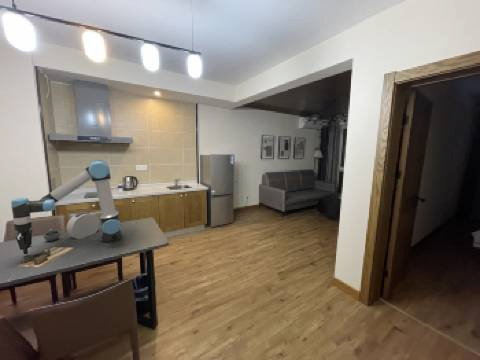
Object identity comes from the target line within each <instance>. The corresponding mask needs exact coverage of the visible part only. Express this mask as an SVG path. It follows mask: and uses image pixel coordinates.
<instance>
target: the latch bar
mask: <svg viewBox="0 0 480 360" xmlns="http://www.w3.org/2000/svg"><path fill="white" fill-rule="evenodd" d="M50 249H51V248H46V249H44V250H41V251H37V252H33V253H30V255H26V256H24V255H23V256H22V257H21V258H22V264H23V263H27V262H30V261H33V260H34V259H36V258H37V257H39V256H41V255H47V256H50V255H51V253H50Z"/></svg>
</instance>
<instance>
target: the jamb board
mask: <svg viewBox="0 0 480 360" xmlns="http://www.w3.org/2000/svg"><path fill="white" fill-rule="evenodd" d="M49 249H50V253H51V255H50V256H47V255H41V256H39V257H37V258H36V259H34V260H33V261H30V262H27V263H23V262H22V263H20V264H18V267H21V268H23V267H24V268H25V267H27V268H28V267H29V268H44V267H46V266H47V265H50V264H51V263H53V262H54V261H56V260H57V259H59V258H61V257H63V256H65V255H66V254H68V253H69V252H71V251H73V250H75V249H76V247H60V246H59V247H58V246H57V247H52V248H49Z"/></svg>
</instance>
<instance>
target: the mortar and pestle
mask: <svg viewBox="0 0 480 360" xmlns="http://www.w3.org/2000/svg"><path fill="white" fill-rule="evenodd" d="M47 231H48V232H45V233H43V239H44V240H45V241H47V242H50V243H51V242H55V241H57V240H58V239H59V238H60V237H61V230H54V229H53V228H49V229H48V230H47Z"/></svg>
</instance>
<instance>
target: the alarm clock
mask: <svg viewBox="0 0 480 360" xmlns="http://www.w3.org/2000/svg"><path fill="white" fill-rule="evenodd" d="M99 227H100V221H99V218H98V217H97V216H96V215H95V214H93V213H90V212H87V211H84V212H79V213H77V214H74V215H73V216H71V218H70V219H69V221H68V222H67V224H66V227H65V228H66V234H67V235H68V236H69V237H70V238H72V239H76V240H81V239H84V238H87V237H89V236H92V235H94V234H96V233H97V231H99Z"/></svg>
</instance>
